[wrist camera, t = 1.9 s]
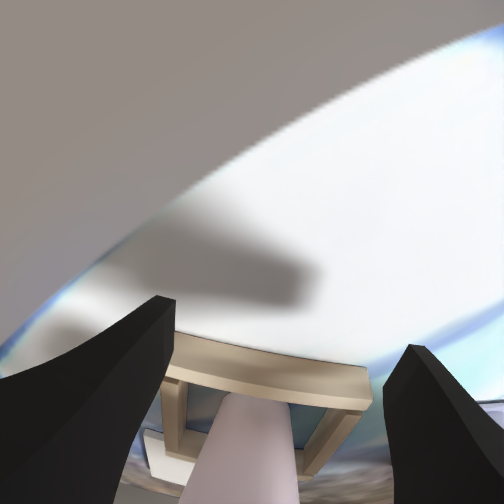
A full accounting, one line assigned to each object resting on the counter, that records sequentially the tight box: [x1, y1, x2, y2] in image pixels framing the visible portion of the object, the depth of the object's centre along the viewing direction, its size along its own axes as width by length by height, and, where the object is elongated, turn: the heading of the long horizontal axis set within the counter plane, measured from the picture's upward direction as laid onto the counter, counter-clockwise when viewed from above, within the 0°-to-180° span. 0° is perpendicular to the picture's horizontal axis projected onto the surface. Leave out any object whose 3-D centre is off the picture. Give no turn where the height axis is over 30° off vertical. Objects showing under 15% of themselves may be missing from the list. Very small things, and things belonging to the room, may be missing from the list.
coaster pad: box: [143, 429, 195, 486], centre depth 19 cm, size 8×8×1 cm
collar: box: [160, 332, 373, 481], centre depth 15 cm, size 9×9×2 cm
